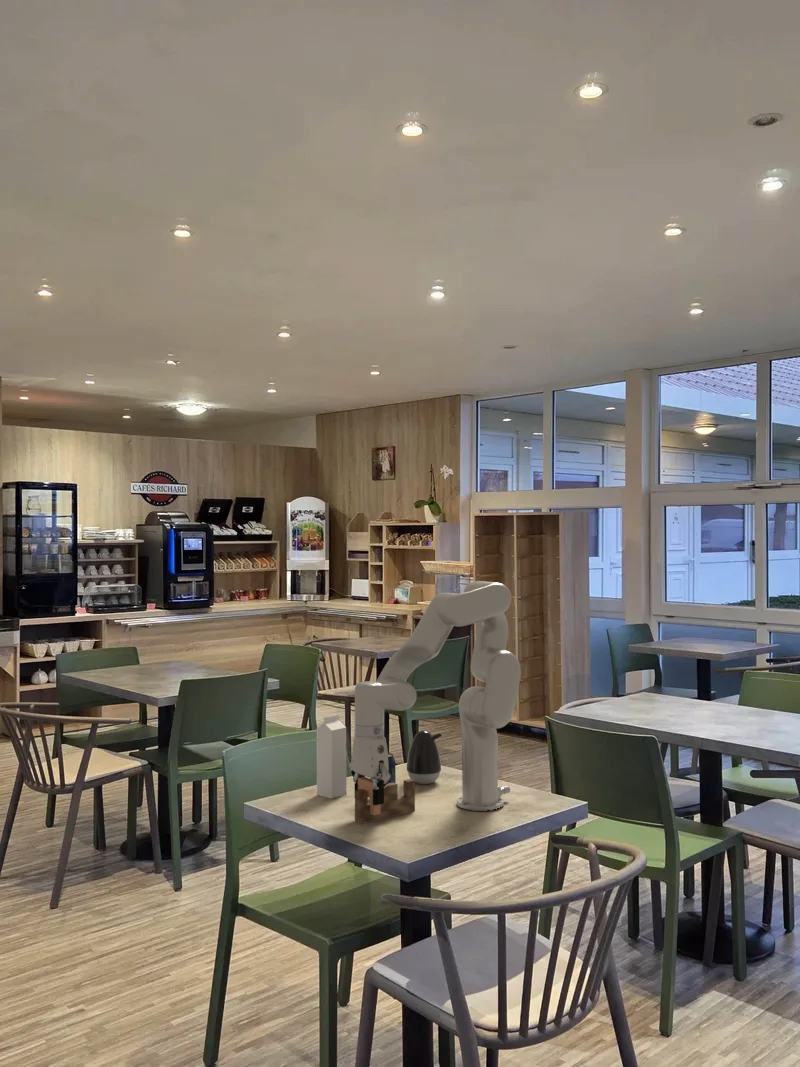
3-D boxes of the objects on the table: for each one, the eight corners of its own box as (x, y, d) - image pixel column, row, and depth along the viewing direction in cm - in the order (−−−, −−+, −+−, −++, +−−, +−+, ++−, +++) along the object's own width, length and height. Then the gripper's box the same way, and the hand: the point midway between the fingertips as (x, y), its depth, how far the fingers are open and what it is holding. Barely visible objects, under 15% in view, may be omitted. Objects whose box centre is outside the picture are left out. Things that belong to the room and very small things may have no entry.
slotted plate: (364, 807, 235) (364, 776, 235) (380, 813, 230) (380, 782, 230) (357, 809, 234) (357, 777, 234) (374, 815, 228) (374, 783, 228)
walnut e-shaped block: (410, 809, 241) (409, 778, 241) (414, 810, 240) (414, 780, 240) (354, 822, 230) (354, 790, 230) (359, 824, 228) (359, 792, 229)
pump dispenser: (443, 786, 264) (442, 733, 264) (407, 786, 264) (406, 734, 264) (440, 777, 274) (440, 727, 275) (406, 777, 274) (406, 727, 275)
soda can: (370, 795, 256) (370, 752, 256) (395, 794, 256) (395, 751, 256) (370, 801, 249) (370, 757, 249) (395, 801, 249) (395, 757, 249)
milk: (346, 794, 256) (347, 716, 257) (331, 799, 252) (332, 719, 252) (330, 790, 260) (331, 713, 260) (315, 795, 255) (316, 716, 256)
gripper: (402, 734, 228) (402, 806, 227) (361, 724, 241) (360, 791, 241) (378, 738, 223) (378, 811, 223) (337, 727, 237) (337, 796, 236)
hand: (369, 800), depth 232 cm, fingers closed on slotted plate, 7 cm apart
